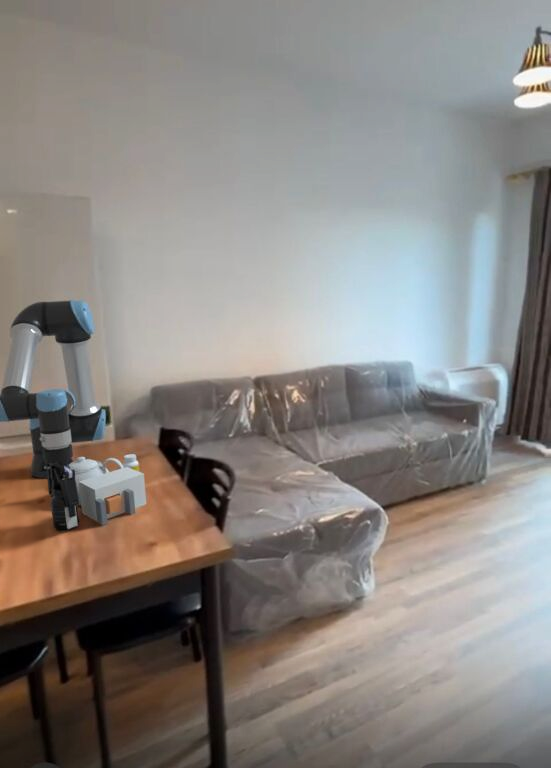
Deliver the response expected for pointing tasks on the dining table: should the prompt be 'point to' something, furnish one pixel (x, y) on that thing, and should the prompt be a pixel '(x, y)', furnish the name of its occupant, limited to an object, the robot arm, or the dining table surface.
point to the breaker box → (112, 493)
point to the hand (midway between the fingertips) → (66, 522)
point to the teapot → (89, 470)
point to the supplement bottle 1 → (60, 510)
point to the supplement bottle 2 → (131, 462)
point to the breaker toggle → (113, 504)
